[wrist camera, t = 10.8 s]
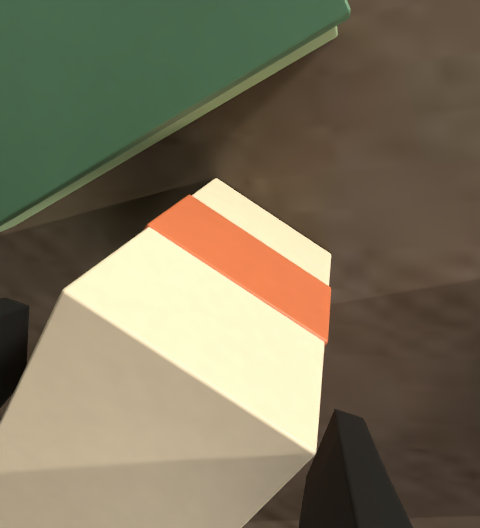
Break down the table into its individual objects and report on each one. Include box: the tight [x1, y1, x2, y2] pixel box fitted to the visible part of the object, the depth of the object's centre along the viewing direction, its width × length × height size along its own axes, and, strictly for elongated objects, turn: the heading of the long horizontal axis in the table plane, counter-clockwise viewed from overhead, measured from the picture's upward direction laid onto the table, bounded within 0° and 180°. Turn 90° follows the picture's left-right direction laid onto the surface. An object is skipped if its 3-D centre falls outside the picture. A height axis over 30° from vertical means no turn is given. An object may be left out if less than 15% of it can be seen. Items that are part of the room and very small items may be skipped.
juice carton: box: [0, 178, 331, 528], centre depth 12 cm, size 4×6×8 cm
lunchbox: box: [0, 0, 350, 232], centre depth 11 cm, size 8×14×5 cm, turn 118°
